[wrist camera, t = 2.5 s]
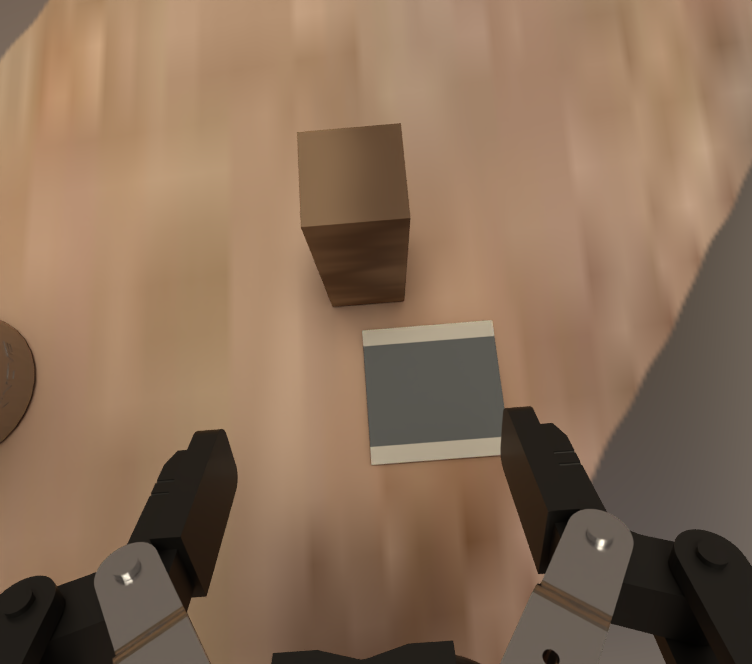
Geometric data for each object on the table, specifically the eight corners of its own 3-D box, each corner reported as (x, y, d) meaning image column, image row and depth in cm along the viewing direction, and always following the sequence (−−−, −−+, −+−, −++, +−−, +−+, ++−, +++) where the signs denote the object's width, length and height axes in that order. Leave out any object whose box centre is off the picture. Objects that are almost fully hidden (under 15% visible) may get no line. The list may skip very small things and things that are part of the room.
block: (332, 306, 31) (300, 227, 20) (329, 240, 32) (297, 132, 21) (404, 300, 31) (410, 217, 20) (398, 235, 32) (400, 123, 21)
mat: (371, 464, 28) (371, 464, 28) (362, 331, 30) (362, 330, 30) (510, 454, 28) (510, 454, 28) (491, 320, 30) (492, 320, 30)
